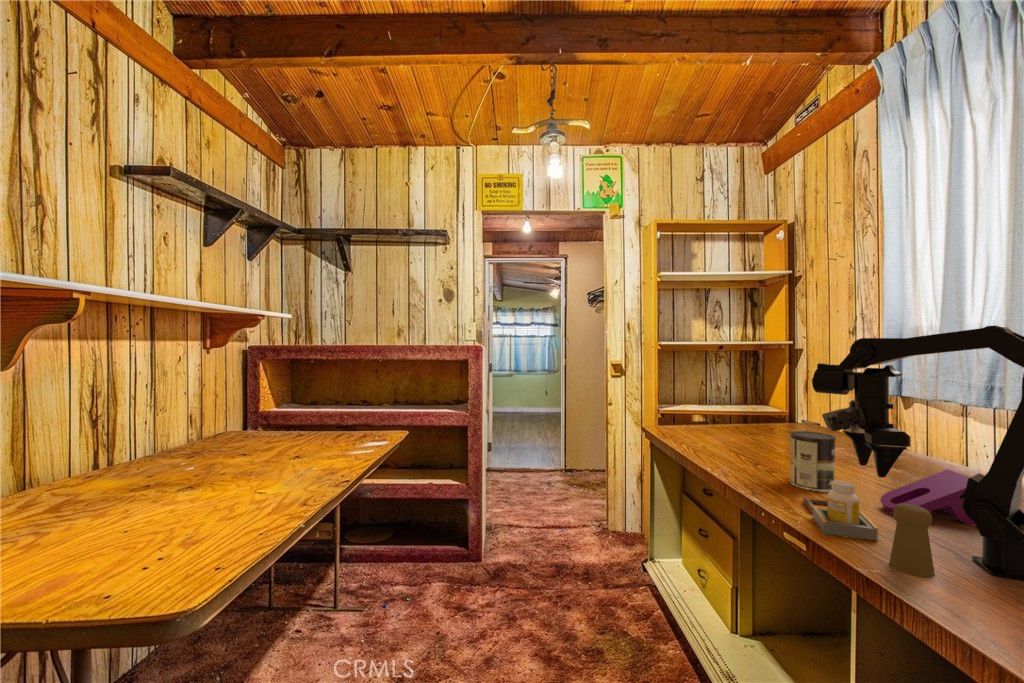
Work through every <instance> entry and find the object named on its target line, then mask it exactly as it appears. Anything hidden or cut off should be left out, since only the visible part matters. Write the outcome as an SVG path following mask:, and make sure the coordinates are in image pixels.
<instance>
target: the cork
mask: <svg viewBox="0 0 1024 683" xmlns="http://www.w3.org/2000/svg"><path fill="white" fill-rule="evenodd" d="M892 516H893V519H894V521H895V522H896V526H895V529H894V530H895V531H894V536H893V542H892V547H891V552H890V558H889V563H888V564H889V565H890V567H892V568H894V569H895V570H897V571H899V572H901V573H904V574H907V575H910V576H915V577H919V578H934V577H935V575H936V573H935V568H934V567H935V566H934V560H933V554H932V549H931V543H930V534H929V530H928V529H929V528H930V527H931V526H932V523H933V517H932V514H931V512H929V511H928V510H926V509H924V508H922V507H919V506H916V505H911V504H898V505H896V506H895V507H894V509H893V514H892Z"/></svg>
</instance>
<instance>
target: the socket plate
mask: <svg viewBox="0 0 1024 683" xmlns="http://www.w3.org/2000/svg"><path fill="white" fill-rule="evenodd" d="M813 518H814V519H813ZM812 519H813V520H814V522H815V521H816V522H815V523H816V525H817V524H818V525H817V526H818V527H820V528H819V529H820V531H821V532H822V534H823V535H827V534H828V535H827V536H834V535H838V536H837V537H841V536H847V537H846V538H848V537H855V538H854V539H856V538H862V539H861V540H863V539H868V540H867V541H870V540H877V541H876V542H878V537H879V536H878V533H879V532H878V527H877V525H876V524H874V523H873V522H872V520H870V519H869V517H868V516H866V514H864V513H863V511H860V510H859V525H855V524H847V523H840V522H832V521H829V520H828V508H822V507H816V506H815V505H814V506H813V513H812Z"/></svg>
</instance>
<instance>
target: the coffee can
mask: <svg viewBox="0 0 1024 683" xmlns="http://www.w3.org/2000/svg"><path fill="white" fill-rule="evenodd" d="M836 440H837V439H836V436H834V435H832V434H829V433H825V432H818V431H807V430H805V431H804V430H803V431H802V430H800V431H799V430H798V431H792V432H790V484H791V485H792V486H793V485H794V486H793V487H795V486H796V487H795V488H798V487H799V488H798V489H801V488H802V489H801V490H804V489H806V490H805V491H809V490H812V491H811V492H815V491H818V493H829V492H830V491H832V490H833V489H832V481H834V480H836V478H835V477H836Z"/></svg>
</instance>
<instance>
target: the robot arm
mask: <svg viewBox="0 0 1024 683" xmlns="http://www.w3.org/2000/svg"><path fill="white" fill-rule="evenodd" d="M980 349H983V350H984V349H990V350H992V351H994V352H996V353H997V354H999V355H1000V356H1002V357H1003V358H1005V359H1007V360H1008V361H1010V362H1012V363H1013V364H1015V365H1017V366H1019V367H1021V368H1023V369H1024V335H1021V334H1019V333H1017V332H1015V331H1013V330H1012V329H1010V328H1009V327H1007V326H1003V325H987V326H984V327H981V328H973V329H967V330H957V331H952V332H951V331H950V332H942V333H936V334H927V335H921V336H920V335H919V336H913V337H905V338H903V337H902V338H901V337H899V338H898V337H894V338H893V337H861V338H859V339H856V340H855V341H853V343H852V344H851V346H850V348H849V353H848V354H847V355H846V356H845V357H844V359H842V361H841V362H840V363H839V364H832V363H827V362H826V363H825V362H824V363H823V362H822V363H817V365H816V369H815V370H814V373H813V377H812V378H811V384H812V388H813V390H814V392H815V393H818V394H832V395H840V396H841V395H843V396H847V395H848V394H849V393H850V392H852V391H854V392H853V393H854V397H853V398H854V399H851V400H850V401H849V406H848V407H845V408H839V409H836V410H832V411H829V412H825V413H822V415H821V417H822V418H823V419H822V420H823V421H824V423H825V426H826V428H827V430H830V431H832V432H838V431H841V430H842V433H843V434H845V436H847V437H848V438H849V439H850V440H851V442H852V444H853V447H854V448H853V449H854V452H855V453H856V457H857V460H858V464H859V465H860V466H863V467H864V466H865V467H866V466H867V465H868V463H869V460H870V457H871V455H872V453H873V458H874V464H875V469H876V470H875V471H876V475H877V476H878V478H886V477H887V475H888V474H889V472H890V470H891V469H892V468H893V466H894V464H895V463H896V462H897V460H898V458H899V457H900V456H901V455H902V453H903V452H904V451H906V450H907V448H909V447H911V444H912V443H911V442H912V440H911V436H910V435H909V434H908V433H907V432H906V431H904V430H901V429H898V428H894V423H891V422H890V409H891V410H893V409H894V403H891V402H890V386H889V385H890V382H889V381H890V379H889V378H898V377H902V376H903V373H902V372H901V371H898V370H897V369H896V368H894V366H893V365H892V364H887V363H893V362H896V361H900V360H903V359H907V358H910V357H915V356H924V355H933V354H941V353H942V354H943V353H944V354H945V353H952V352H963V351H971V350H980ZM884 364H887V365H885V366H884V367H880V368H879V367H878V368H877V367H870V366H876V365H877V366H879V365H884ZM857 369H858V370H860V369H864V370H863V371H854V370H857ZM990 465H991V466H990V468H989V470H987V473H986V474H985V475H984V474H982V473H980V472H978V473H976V474H975V475H972V476H969V477H970V478H968V481H967V486H966V490H965V492H964V494H963V495H961V496H960V497H959V498H960V499H964V501H963V505H962V506H963V510H964V511H965V513H966V514H967V516H968V517H969V518H970V519H971V520H973V521H974V522H975V524H976V525H975V526H976V528H977V530H978V532H979V535H980V536H981V537H982V556H978V555H972V556H971V559H972V561H974V562H976V563H977V564H979V566H980V567H982V568H983V569H985V570H986V571H987V572H988V573H989V574H991V575H993V576H995V577H1003V578H1009V579H1017V580H1024V511H1022V509H1020V506H1021V505H1020V504H1021V500H1022V493H1023V492H1022V488H1023V487H1022V486H1023V484H1022V483H1023V478H1024V372H1023V374H1022V379H1021V399H1020V402H1019V404H1018V406H1017V409H1016V410H1015V412H1014V415H1013V418H1012V419H1011V422H1010V423H1009V426H1008V429H1007V430H1006V432H1005V435H1004V437H1003V440H1002V442H1001V443H1000V446H999V448H998V450H997V452H996V454H995V457H994V459H993V461H992V462H991V464H990Z"/></svg>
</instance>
